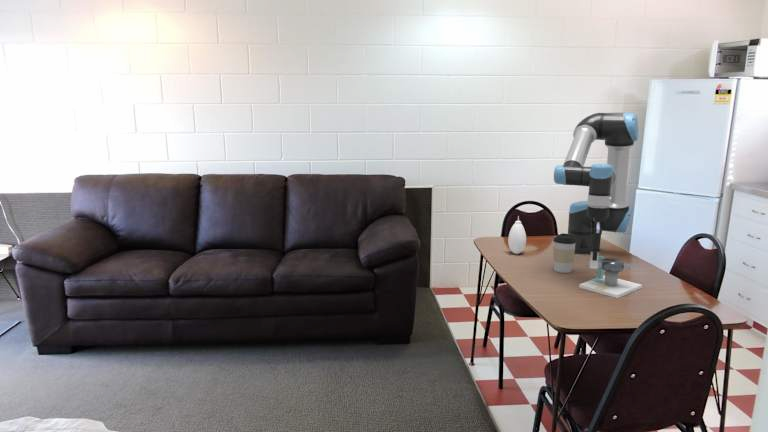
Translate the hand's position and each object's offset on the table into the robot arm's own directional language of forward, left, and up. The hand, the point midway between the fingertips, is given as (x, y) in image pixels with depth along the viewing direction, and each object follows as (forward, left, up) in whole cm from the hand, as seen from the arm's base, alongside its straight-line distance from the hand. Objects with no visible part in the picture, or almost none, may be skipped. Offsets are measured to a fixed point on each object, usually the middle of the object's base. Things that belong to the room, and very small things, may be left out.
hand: (593, 268), depth 199 cm
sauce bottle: (-15, -47, -8) cm, 50 cm away
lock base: (-5, +5, -7) cm, 10 cm away
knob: (-4, +4, 0) cm, 6 cm away
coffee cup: (-9, -19, -8) cm, 22 cm away
